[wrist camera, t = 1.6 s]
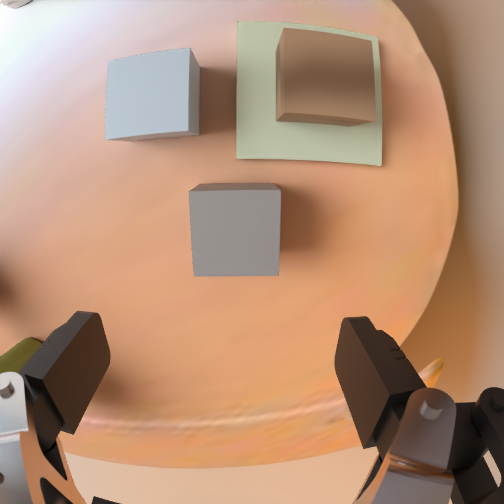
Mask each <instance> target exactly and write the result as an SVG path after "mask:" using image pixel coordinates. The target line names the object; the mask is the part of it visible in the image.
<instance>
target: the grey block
mask: <svg viewBox="0 0 504 504" xmlns="http://www.w3.org/2000/svg"><path fill="white" fill-rule="evenodd" d="M189 205H190V225H191V241H192V256H193V269H194V276H279V255H280V216H281V190H280V189H279V188H278V187H277V186H276V185H275V184H274V183H219V184H199V185H198V186H196V187H195V188H193V189H192V190H190V191H189Z"/></svg>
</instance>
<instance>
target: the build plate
mask: <svg viewBox="0 0 504 504" xmlns="http://www.w3.org/2000/svg"><path fill="white" fill-rule="evenodd" d="M283 28H293V29H304V30H313V31H321V32H328V33H334V34H340V35H346V36H351V37H356V38H361V39H366V40H370V41H372V49H373V62H374V77H375V104H376V122H371V123H366V124H361V125H356V126H351V127H347V126H338V125H327V124H315V123H300V122H279V121H276V59H275V52H276V49H277V46H278V42H279V39H280V36H281V33H282V30H283ZM236 159H290V160H313V161H330V162H344V163H357V164H367V165H377V166H381V164H382V86H381V69H380V56H379V45H378V37H375V36H371V35H367V34H362V33H357V32H352V31H347V30H342V29H336V28H330V27H323V26H315V25H307V24H297V23H285V22H267V21H237V94H236Z"/></svg>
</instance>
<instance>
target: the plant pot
mask: <svg viewBox="0 0 504 504" xmlns="http://www.w3.org/2000/svg"><path fill="white" fill-rule="evenodd" d="M41 345H42V343H41V342H39V341H37V340H35V339H32V338H26V339H24V340H22V341H21V342H19V343H18V344H17V345H15V346H14V347H13V348H11V349H10V350H9V351H7V352H6V353H5V354H3V355H2V356H0V374H1V373H5V372H15V373H19V371H20V370H21V369H22V368H23V366H24V365H25V364H26V363H27V361H28V360H29V359H30V358H31V357H32V355H33V354H34V353H35V352H36V351H37V349H38V348H40V346H41Z"/></svg>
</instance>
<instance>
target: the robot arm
mask: <svg viewBox="0 0 504 504" xmlns="http://www.w3.org/2000/svg"><path fill="white" fill-rule="evenodd" d="M29 1H31V0H0V3H1V4H3V5H5V6H8V7H10V8H18V7H21V6H23V5H25V4H26V3H28V2H29ZM109 364H110V349H109V346H108V342H107V339H106V335H105V332H104V328H103V324H102V320H101V317H100V315H99V314H98V313H94V312H84V311H77V312H76V313H75V314H74V315H73V316H72V317H71V318H70V319H69V320H68V321H67V323H65V324H64V325H62V326H60V327H59V328H57V329H56V330H54V331H53V332H52V333H51V334H50V336H49V337H48V338H47V339H46V341H44V343H43V344H42V345H41V346H40V348H38V349H37V351H36V352H35V353H34V354H33V355H32V357H31V358H30V359H29V360H28V361H27V363H26V364H25V365H24V366H23V368H22V369H21V370H20V371H19V373H15V372H5V373H1V374H0V504H86V502H85V500H84V499H83V498H82V496H81V495H80V493H79V492H78V490H77V488H76V486H75V484H74V481H73V479H72V476H71V473H70V470H69V467H68V464H67V461H66V457H65V454H64V451H63V447H62V444H61V441H60V439H59V437H58V434H59V432H60V430H61V431H64V432H67V433H70V434H73V435H74V433H75V431H76V429H77V427H78V425H79V423H80V421H81V419H82V417H83V415H84V413H85V411H86V409H87V407H88V405H89V403H90V401H91V399H92V397H93V395H94V393H95V391H96V389H97V387H98V385H99V384H100V382H101V380H102V378H103V376H104V374H105V372H106V370H107V369H108V367H109ZM335 371H336V375H337V377H338V380H339V383H340V385H341V388H342V391H343V393H344V396H345V399H346V401H347V404H348V406H349V410H350V412H351V415H352V418H353V421H354V424H355V426H356V429H357V432H358V435H359V438H360V441H361V443H362V446H363V449H365V448H370V447H375V446H377V449H378V451H379V454H378V455H377V457H376V459H375V461H374V463H373V465H372V467H371V469H370V471H369V473H368V475H367V478H366V479H365V481H364V483H363V485H362V487H361V489H360V491H359V493H358V494H357V497H356V498H355V500H354V502H353V503H352V504H448V503H449V499H450V498H451V500H452V503H453V504H504V389H501V388H497V387H491V388H487V389H485V390H484V391H483V392H482V393H481V395H480V397H479V399H478V400H477V402H469V403H455V402H454V400H453V399H452V398H451V397H450V396H449V395H448V394H447V393H445V392H444V391H441V390H439V389H435V388H427V387H426V385H425V384H424V382H423V381H422V379H421V378H420V376H419V375H418V373H417V372H416V370H415V369H414V367H413V366H412V364H411V363H410V362H409V360H408V359H406V356H405V354H404V353H403V352H402V350H400V347H399V346H398V344H397V343H396V341H395V340H394V339H393V338H392V337H391V336H389V335H388V334H387V333H385V332H384V331H382V330H376V328H375V327H374V325H373V324H372V322H371V321H370V319H369V318H368V317H367V316H362V317H346V318H344V319H343V321H342V324H341V329H340V334H339V339H338V344H337V349H336V353H335ZM488 450H489V451H490V453H491V455H492V457H493V459H494V461H495V463H496V464H497V467H498V469H499V471H500V473H501V483H500V486H499V487H498V486H497V484H496V482H495V480H494V478H493V476H492V474H491V472H490V469H489V467H488V465H487V463H486V461H485V459H484V457H483V456H484V455H485V453H486V452H487V451H488ZM92 504H119V503H116V502H112V501H109V500H105V499H102V498H98V497H95V496H94V497H93V501H92Z"/></svg>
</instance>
